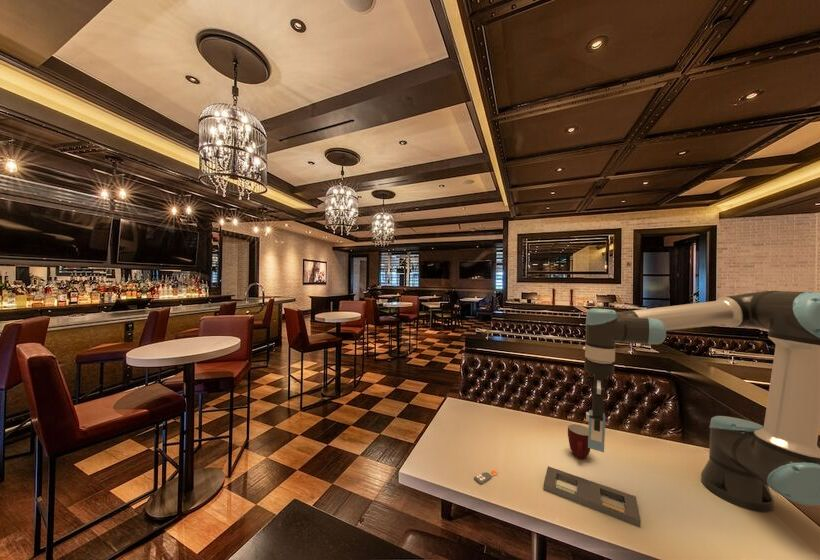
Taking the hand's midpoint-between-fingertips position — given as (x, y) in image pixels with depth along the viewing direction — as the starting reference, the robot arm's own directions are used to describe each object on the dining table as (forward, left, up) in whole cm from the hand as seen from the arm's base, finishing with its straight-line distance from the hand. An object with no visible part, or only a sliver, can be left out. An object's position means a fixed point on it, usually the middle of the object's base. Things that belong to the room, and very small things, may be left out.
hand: (596, 436), depth 86 cm
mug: (+5, -21, -19) cm, 29 cm away
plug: (0, 0, -3) cm, 3 cm away
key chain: (+30, +8, -20) cm, 36 cm away
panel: (+2, 0, -19) cm, 19 cm away
